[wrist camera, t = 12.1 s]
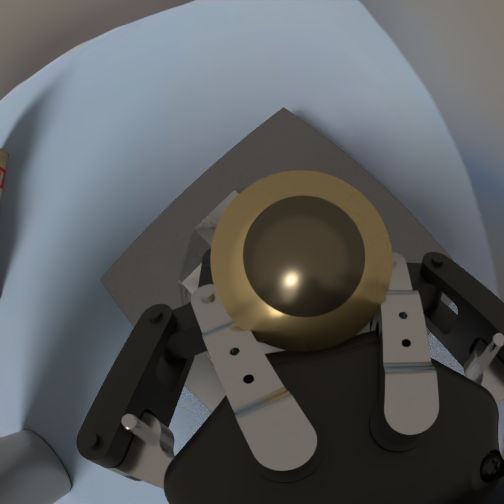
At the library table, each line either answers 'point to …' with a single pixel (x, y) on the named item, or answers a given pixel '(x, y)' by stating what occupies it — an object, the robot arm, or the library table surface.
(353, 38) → the library table surface
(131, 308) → the plate
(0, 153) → the stack of blocks
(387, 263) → the brass sleeve
